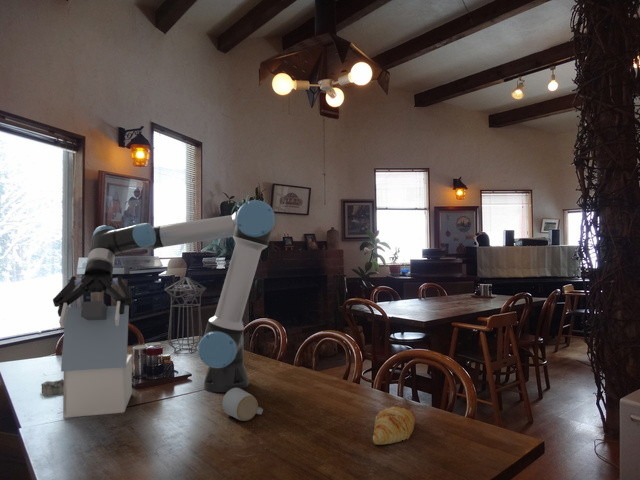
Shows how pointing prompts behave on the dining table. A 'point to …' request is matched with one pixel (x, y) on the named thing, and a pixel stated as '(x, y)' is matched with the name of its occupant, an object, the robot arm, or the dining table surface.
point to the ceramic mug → (240, 404)
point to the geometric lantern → (183, 312)
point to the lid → (94, 338)
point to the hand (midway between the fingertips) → (89, 323)
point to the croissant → (393, 425)
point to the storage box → (97, 391)
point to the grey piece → (52, 387)
